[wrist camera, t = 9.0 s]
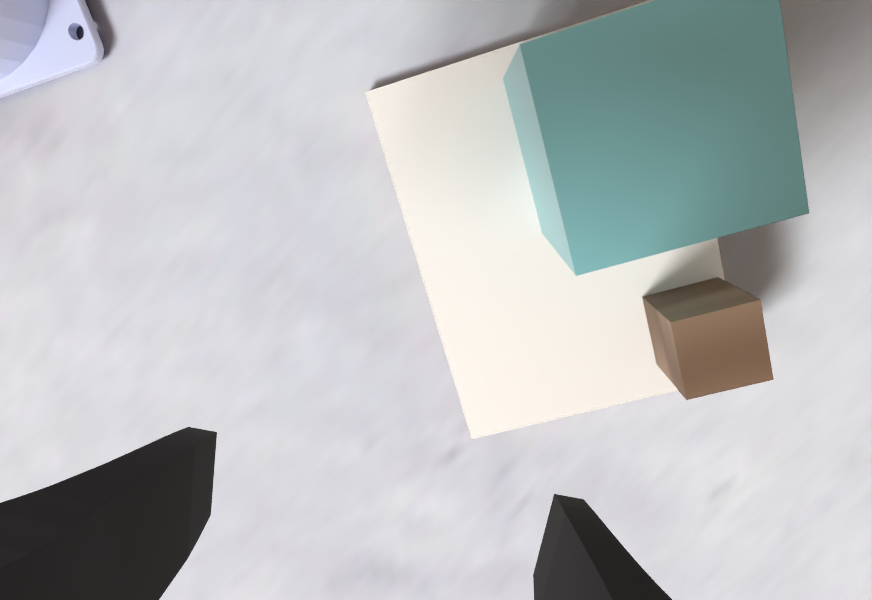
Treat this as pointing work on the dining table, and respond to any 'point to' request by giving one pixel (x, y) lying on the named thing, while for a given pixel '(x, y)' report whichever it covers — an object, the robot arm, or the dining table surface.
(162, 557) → the robot arm
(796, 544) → the dining table surface
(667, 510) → the dining table surface
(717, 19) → the teal block
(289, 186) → the dining table surface
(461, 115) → the board
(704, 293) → the tan block
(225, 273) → the dining table surface
